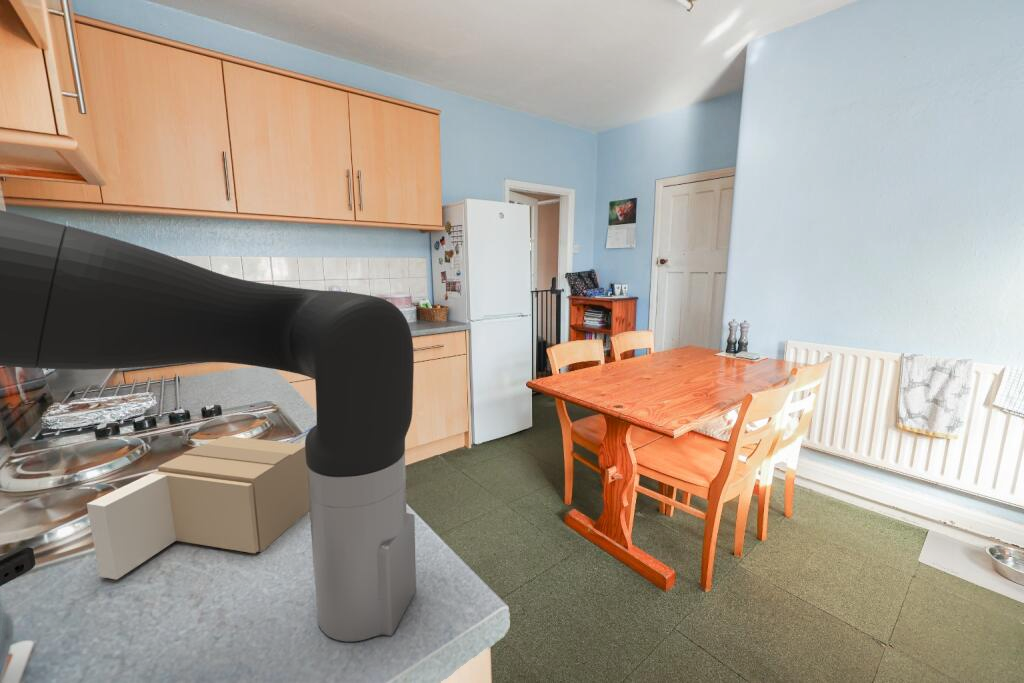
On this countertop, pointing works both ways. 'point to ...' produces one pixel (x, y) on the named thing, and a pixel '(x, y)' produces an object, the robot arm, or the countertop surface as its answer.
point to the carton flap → (170, 519)
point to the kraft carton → (255, 477)
